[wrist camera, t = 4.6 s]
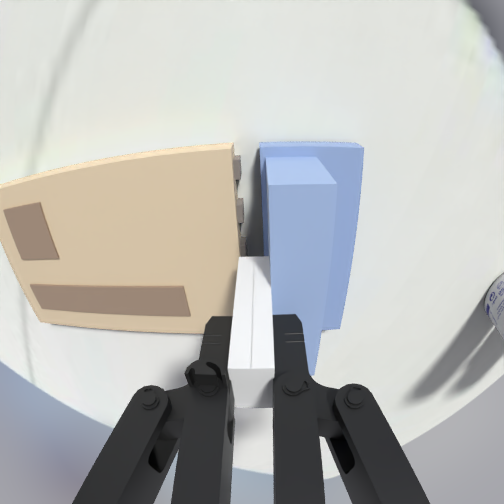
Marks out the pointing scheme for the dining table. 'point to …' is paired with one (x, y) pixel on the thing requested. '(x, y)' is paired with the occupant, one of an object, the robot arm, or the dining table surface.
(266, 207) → the light blue stepped block
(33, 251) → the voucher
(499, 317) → the energy drink
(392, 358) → the dining table surface
